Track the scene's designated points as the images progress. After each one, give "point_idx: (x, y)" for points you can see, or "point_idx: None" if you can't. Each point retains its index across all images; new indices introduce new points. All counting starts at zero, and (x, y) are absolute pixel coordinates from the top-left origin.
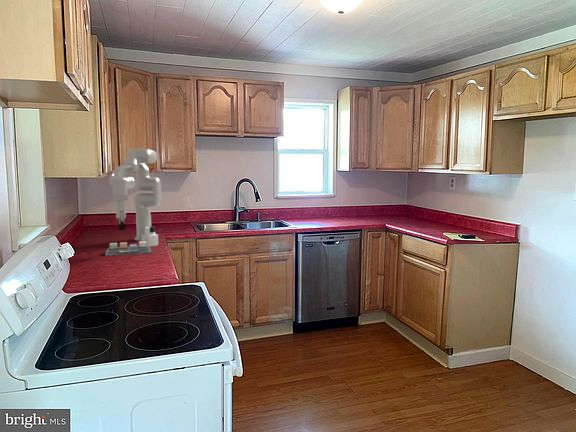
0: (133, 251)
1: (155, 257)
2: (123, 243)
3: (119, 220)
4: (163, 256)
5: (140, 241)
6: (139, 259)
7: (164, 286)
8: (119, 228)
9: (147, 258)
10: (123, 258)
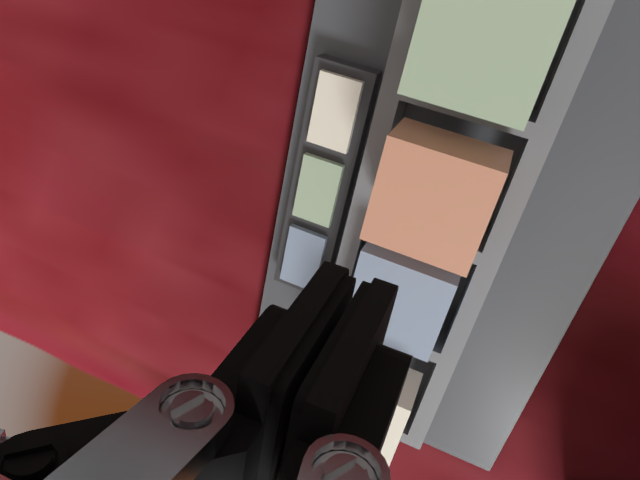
0: (284, 230)
1: (77, 299)
2: (393, 199)
3: (75, 457)
4: (91, 355)
5: (402, 422)
6: (45, 172)
7: None
8: (309, 288)
9: (62, 238)
10: (127, 54)
